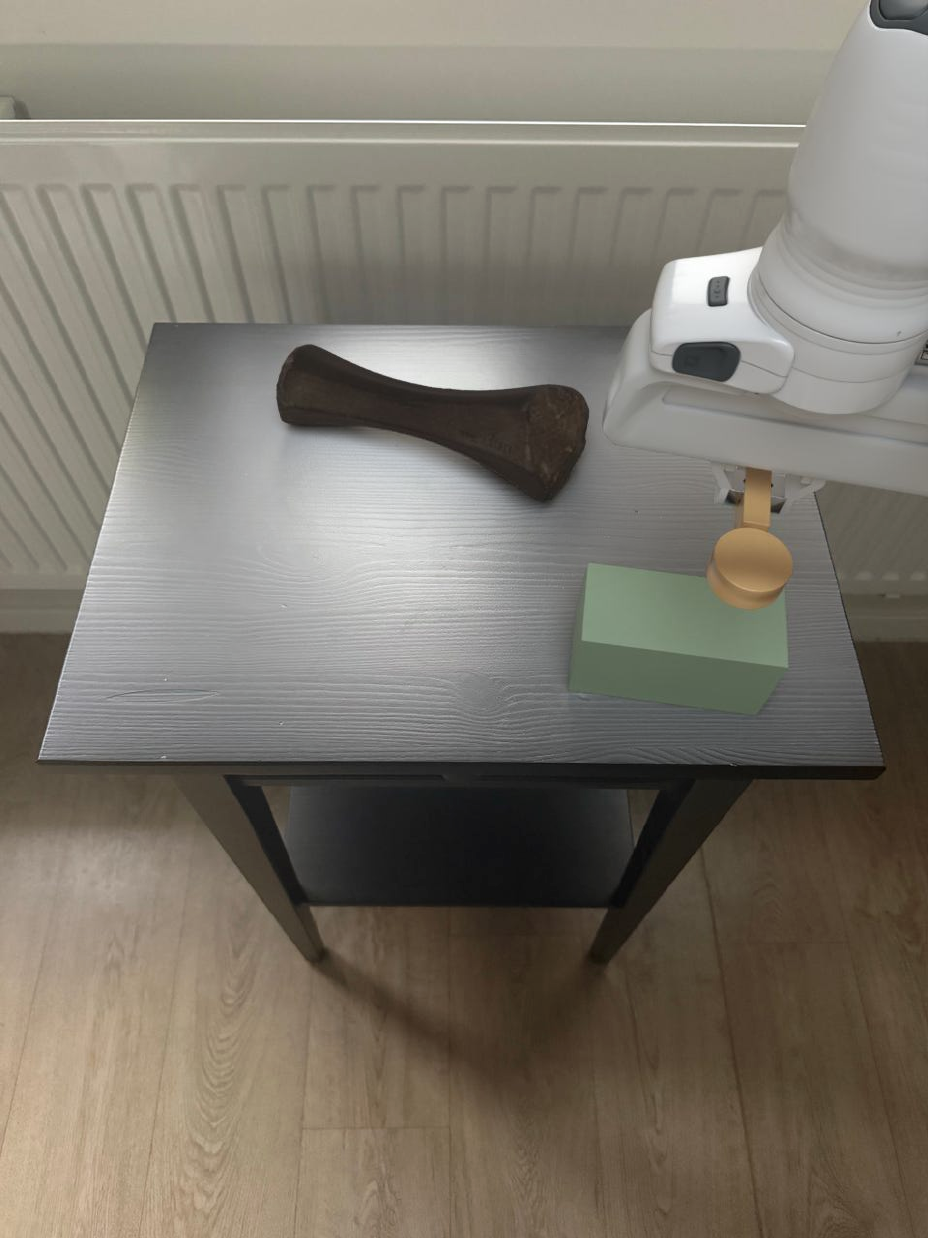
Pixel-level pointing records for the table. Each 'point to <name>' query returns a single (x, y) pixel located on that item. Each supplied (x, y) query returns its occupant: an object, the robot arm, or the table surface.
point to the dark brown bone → (444, 416)
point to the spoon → (750, 551)
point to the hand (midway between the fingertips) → (749, 501)
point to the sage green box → (674, 642)
